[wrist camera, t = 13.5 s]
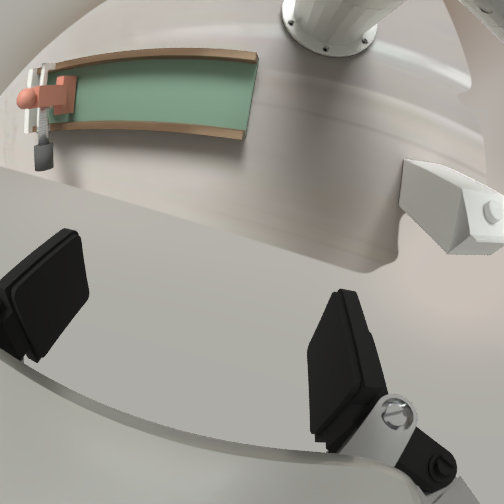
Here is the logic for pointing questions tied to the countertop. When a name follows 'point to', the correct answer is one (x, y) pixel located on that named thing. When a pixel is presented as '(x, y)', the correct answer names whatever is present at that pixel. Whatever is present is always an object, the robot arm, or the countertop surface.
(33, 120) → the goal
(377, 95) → the countertop surface
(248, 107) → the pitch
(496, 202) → the milk carton
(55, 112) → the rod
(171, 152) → the countertop surface
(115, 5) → the countertop surface
